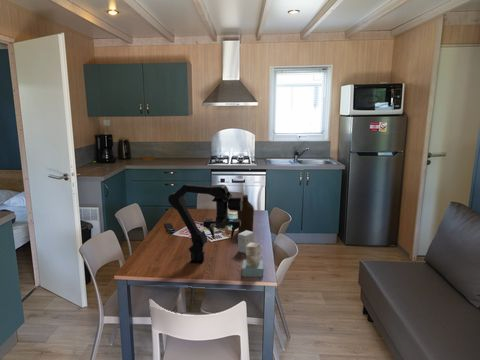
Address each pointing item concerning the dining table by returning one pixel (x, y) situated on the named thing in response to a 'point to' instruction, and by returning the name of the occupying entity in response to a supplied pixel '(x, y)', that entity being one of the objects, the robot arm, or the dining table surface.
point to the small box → (245, 240)
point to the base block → (252, 270)
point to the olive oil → (246, 216)
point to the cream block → (252, 254)
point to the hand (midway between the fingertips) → (222, 239)
